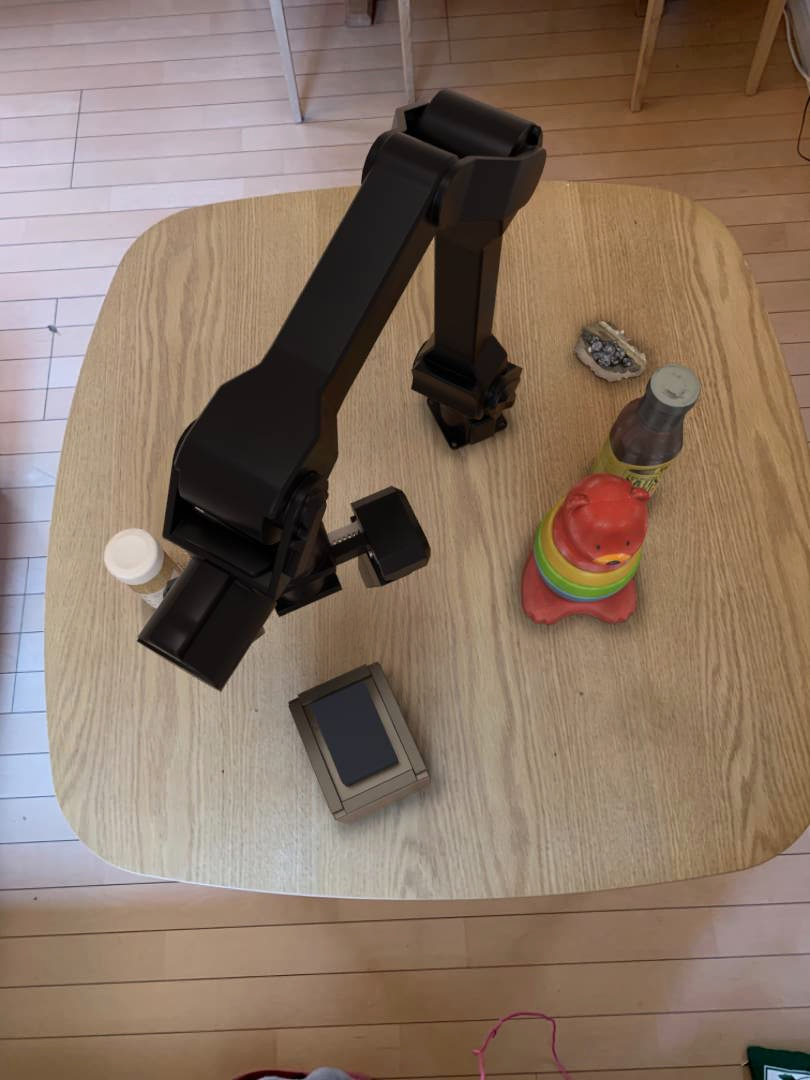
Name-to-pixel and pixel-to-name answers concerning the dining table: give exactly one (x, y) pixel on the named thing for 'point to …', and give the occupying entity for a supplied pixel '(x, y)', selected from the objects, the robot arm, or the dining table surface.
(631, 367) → the mineral rock specimen
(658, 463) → the sauce bottle
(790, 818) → the dining table surface
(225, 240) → the dining table surface
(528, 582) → the stacking bear
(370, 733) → the dark blue rectangular block
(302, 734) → the backing frame
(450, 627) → the dining table surface
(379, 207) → the robot arm
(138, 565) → the sprinkles bottle
